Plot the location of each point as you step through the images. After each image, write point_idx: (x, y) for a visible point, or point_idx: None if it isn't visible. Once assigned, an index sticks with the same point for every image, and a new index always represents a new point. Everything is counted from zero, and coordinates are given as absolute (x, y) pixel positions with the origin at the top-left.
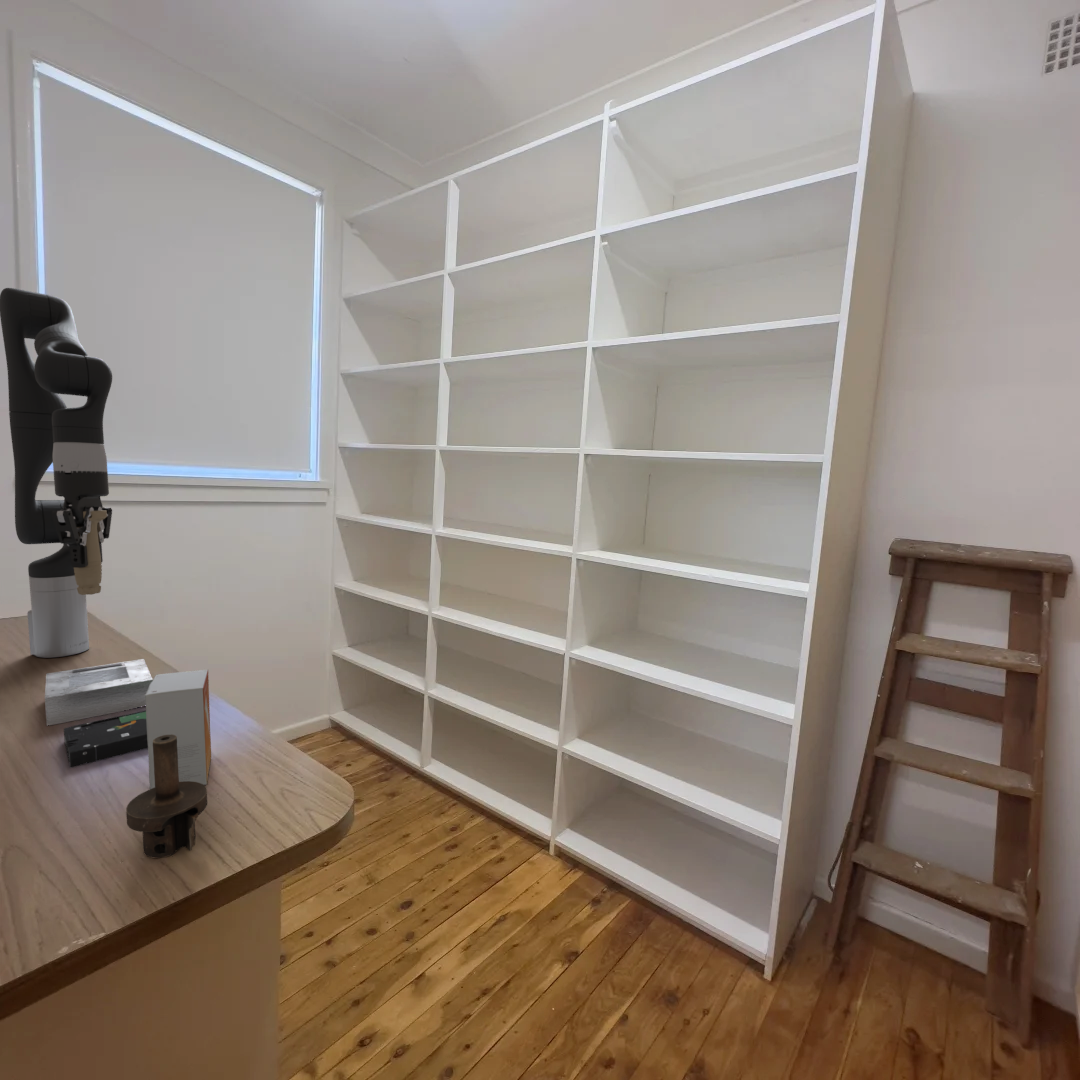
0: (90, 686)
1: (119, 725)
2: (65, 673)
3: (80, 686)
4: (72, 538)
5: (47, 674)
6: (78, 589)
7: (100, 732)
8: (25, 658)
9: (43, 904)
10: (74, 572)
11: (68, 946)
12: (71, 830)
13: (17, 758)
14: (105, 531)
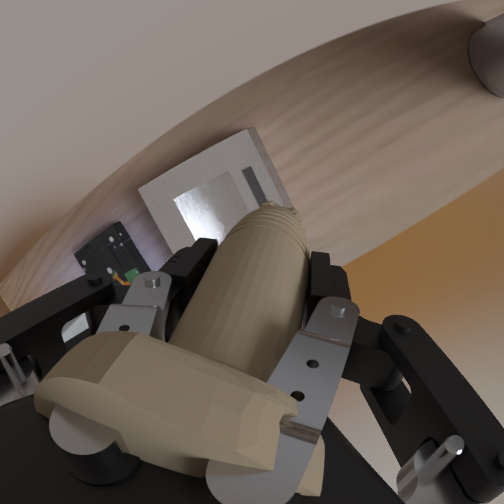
0: (175, 225)
1: (118, 274)
2: (241, 159)
3: (176, 212)
4: (85, 332)
5: (241, 132)
6: (260, 207)
7: (104, 263)
8: (470, 18)
9: (10, 286)
10: (239, 221)
11: (4, 300)
12: (36, 279)
13: (92, 197)
14: (368, 403)
